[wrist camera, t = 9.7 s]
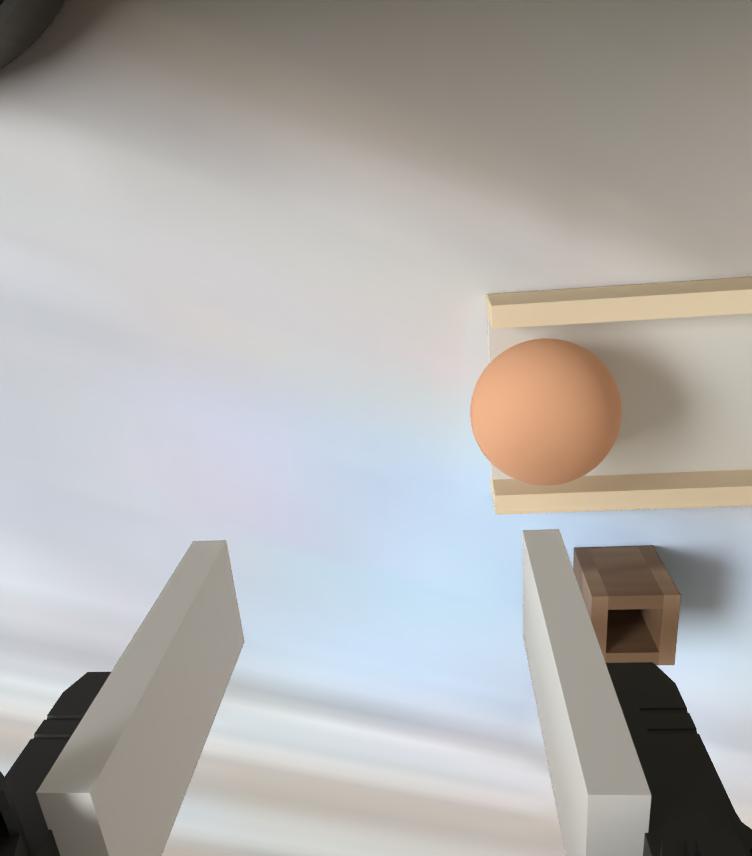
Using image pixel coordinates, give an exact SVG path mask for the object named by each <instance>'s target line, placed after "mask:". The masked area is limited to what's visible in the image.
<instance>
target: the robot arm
mask: <svg viewBox="0 0 752 856" xmlns="http://www.w3.org/2000/svg"><path fill="white" fill-rule="evenodd" d="M64 1H65V0H0V68H1V67H3V66H5V65H6V64H8V63H9V62H10V61H12V60H13V59H15V58H16V57H18V56H19V55H20V54H21V53H22V52H23V51H24V50H26V49H27V48H28V47H29V46H30V45H31V44H32V43H33V42H34V41H35V40H36V39H37V38H38V37H39V36H40V35H41V34H42V32H43V31H44V30H45V29H46V27H47V26H48V25H49V24H50V22H51V21H52V20H53V18H54V17H55V15H56V14H57V12H58V11H59V9H60V8H61V6H62V4H63V2H64ZM523 638H524V643H525V649H526V654H527V659H528V664H529V669H530V674H531V680H532V685H533V690H534V695H535V700H536V705H537V710H538V716H539V721H540V726H541V731H542V736H543V741H544V747H545V752H546V757H547V762H548V767H549V772H550V778H551V783H552V788H553V793H554V798H555V803H556V809H557V814H558V819H559V824H560V829H561V834H562V840H563V845H564V850H565V855H566V856H752V829H750V828H749V827H748V826H746V825H745V824H744V823H742V822H741V820H740V819H739V817H738V815H737V814H736V812H735V810H734V808H733V806H732V804H731V802H730V799H729V797H728V795H727V793H726V791H725V789H724V787H723V784H722V782H721V780H720V778H719V776H718V774H717V772H716V770H715V767H714V765H713V763H712V761H711V759H710V757H709V755H708V752H707V750H706V748H705V746H704V744H703V742H702V740H701V737H700V735H699V734H697V731H696V727H695V725H694V722H693V720H692V718H691V716H690V714H689V713H687V707H686V705H685V703H684V701H683V699H682V697H681V695H680V692H679V690H678V688H677V686H676V684H675V683H674V682H673V681H672V680H671V679H670V678H669V677H668V676H667V675H666V674H665V673H664V672H663V671H662V670H661V669H660V668H658V667H657V666H656V665H655V664H654V663H653V662H627V663H605V660H604V657H603V654H602V652H601V649H600V646H599V643H598V640H597V637H596V634H595V631H594V628H593V626H592V623H591V620H590V617H589V614H588V611H587V608H586V605H585V603H584V600H583V597H582V594H581V591H580V588H579V585H578V582H577V580H576V577H575V574H574V571H573V568H572V565H571V562H570V559H569V557H568V554H567V551H566V548H565V545H564V542H563V539H562V536H561V533H560V531H559V529H551V530H523ZM243 644H244V637H243V631H242V626H241V620H240V614H239V609H238V603H237V598H236V592H235V587H234V581H233V575H232V570H231V564H230V559H229V553H228V548H227V542H226V540H220V541H193V542H192V544H191V545H190V547H189V549H188V550H187V552H186V553H185V555H184V557H183V558H182V560H181V561H180V563H179V565H178V566H177V568H176V569H175V571H174V573H173V574H172V576H171V577H170V579H169V581H168V582H167V584H166V585H165V587H164V589H163V590H162V592H161V593H160V595H159V597H158V598H157V600H156V602H155V603H154V605H153V606H152V608H151V610H150V611H149V613H148V614H147V616H146V618H145V619H144V621H143V622H142V624H141V626H140V627H139V629H138V630H137V632H136V634H135V635H134V637H133V638H132V640H131V642H130V643H129V645H128V646H127V648H126V650H125V651H124V653H123V654H122V656H121V658H120V659H119V661H118V662H117V664H116V666H115V667H114V669H113V670H112V672H87V673H86V674H85V675H84V676H82V677H81V678H80V679H79V680H78V681H76V682H75V683H74V684H73V685H71V686H70V687H69V688H68V689H67V690H65V691H64V692H63V693H62V695H61V696H60V698H59V699H58V701H57V702H56V703H55V705H54V706H53V708H52V709H51V711H50V712H49V714H48V715H47V716H48V717H47V720H44V721H43V722H42V724H41V725H40V727H39V728H38V730H37V731H36V732H35V734H34V739H31V740H30V741H29V743H28V744H27V745H26V747H25V748H24V750H23V751H22V753H21V754H20V756H19V757H18V758H17V760H16V761H15V763H14V764H13V766H12V767H11V769H10V770H9V771H8V773H7V774H6V776H5V777H4V776H3V774H2V773H1V772H0V856H161V855H162V853H163V850H164V848H165V845H166V843H167V840H168V837H169V835H170V832H171V830H172V827H173V825H174V822H175V819H176V817H177V814H178V812H179V809H180V806H181V804H182V801H183V799H184V796H185V794H186V791H187V788H188V786H189V783H190V781H191V778H192V776H193V773H194V770H195V768H196V765H197V763H198V760H199V757H200V755H201V752H202V750H203V747H204V745H205V742H206V739H207V737H208V734H209V732H210V729H211V726H212V724H213V721H214V719H215V716H216V714H217V711H218V708H219V706H220V703H221V701H222V698H223V696H224V693H225V690H226V688H227V685H228V683H229V680H230V677H231V675H232V672H233V670H234V667H235V665H236V662H237V659H238V657H239V654H240V652H241V649H242V647H243Z"/></svg>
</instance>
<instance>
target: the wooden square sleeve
mask: <svg viewBox="0 0 752 856" xmlns="http://www.w3.org/2000/svg"><path fill="white" fill-rule="evenodd" d="M573 571H574V574H575V577H576V580H577V582H578V585H579V588H580V591H581V594H582V597H583V600H584V603H585V605H586V608H587V611H588V614H589V617H590V620H591V623H592V626H593V628H594V631H595V634H596V637H597V640H598V643H599V646H600V649H601V652H602V654H603V657H604V660H605V663H627V662H653V663H654V664H655V665H674V664H675V653H676V642H677V631H678V620H679V609H680V598H681V594H680V592H679V591H678V589H677V587H676V585H675V584H674V582H673V580H672V578H671V577H670V575H669V573H668V572H667V570H666V568H665V566H664V565H663V563H662V561H661V559H660V558H659V556H658V554H657V552H656V551H655V549H654V547H653V546H622V547H588V548H574V568H573Z"/></svg>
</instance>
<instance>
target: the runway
mask: <svg viewBox="0 0 752 856" xmlns="http://www.w3.org/2000/svg"><path fill="white" fill-rule="evenodd" d="M487 326H488V365H489V363H490V362H491V361H492V360H493V359H494V358H495V357H497V356H498V355H499V354H501V353H502V352H503V351H505V350H506V349H508V348H510V347H512V346H514V345H516V344H519V343H521V342H525V341H528V340H534V339H542V338H550V339H559V340H564V341H568V342H572V343H574V344H577V345H579V346H581V347H583V348H585V349H586V350H588V351H590V352H591V353H592V354H594V355H595V356H596V357H597V358H598V359H600V360H601V362H602V363H603V364H604V365H605V366H606V367H607V369H608V370H609V371H610V373H611V374H612V376H613V378H614V380H615V382H616V385H617V387H618V390H619V394H620V398H621V406H622V418H621V425H620V430H619V433H618V436H617V439H616V441H615V443H614V445H613V447H612V448H611V450H610V452H609V453H608V455H607V456H606V457H605V458H604V459H603V461H602V462H601V463H600V464H599V465H598V466H597V467H595V468H594V469H593V470H591V471H590V472H589V473H587V474H586V475H584V476H582V477H580V478H578V479H576V480H573V481H570V482H567V483H563V484H559V485H547V486H544V485H533V484H528V483H525V482H521V481H518V480H516V479H514V478H512V477H510V476H508V475H506V474H504V473H503V472H501V471H500V470H499V469H497V468H496V467H495V466H494V465H493V464H492V463H491V462H490V463H491V491H492V497H493V502H494V508H495V513H496V514H523V513H552V512H581V511H610V510H640V509H669V508H698V507H727V506H752V277H743V278H727V279H712V280H696V281H681V282H666V283H650V284H635V285H620V286H604V287H589V288H574V289H558V290H543V291H528V292H512V293H497V294H487Z"/></svg>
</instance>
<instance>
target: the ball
mask: <svg viewBox="0 0 752 856" xmlns="http://www.w3.org/2000/svg"><path fill="white" fill-rule="evenodd" d="M470 417H471V426H472V430H473V433H474V437H475V439H476V441H477V443H478V445H479V447H480V449H481V451H482V452H483V454H484V455H485V456H486V458H487V459H488V460H489V461H490V462H491V463H492V464H493V465H494V466H495V467H496V468H497V469H499V470H500V471H501V472H503V473H504V474H506V475H508V476H510V477H512V478H514V479H516V480H518V481H521V482H525V483H528V484H533V485H544V486H547V485H559V484H563V483H567V482H570V481H573V480H576V479H578V478H580V477H582V476H584V475H586V474H587V473H589V472H590V471H591V470H593V469H594V468H595V467H597V466H598V465H599V464H600V463H601V462H602V461H603V459H604V458H605V457H606V456H607V455H608V453H609V452H610V450H611V448H612V447H613V445H614V443H615V441H616V439H617V436H618V433H619V430H620V425H621V418H622V406H621V398H620V394H619V390H618V387H617V385H616V382H615V380H614V378H613V376H612V374H611V373H610V371H609V370H608V369H607V367H606V366H605V365H604V364H603V363H602V362H601V360H600V359H598V358H597V357H596V356H595V355H594V354H592V353H591V352H590V351H588V350H586V349H585V348H583V347H581V346H579V345H577V344H574V343H572V342H568V341H564V340H559V339H550V338H542V339H534V340H528V341H525V342H521V343H519V344H516V345H514V346H512V347H510V348H508V349H506V350H505V351H503V352H502V353H501V354H499V355H498V356H497V357H495V358H494V359H493V360H492V361H491V362H490V363H489V365H488V366H487V367H486V368H485V369H484V371H483V373H482V374H481V376H480V377H479V379H478V381H477V383H476V386H475V388H474V392H473V395H472V399H471V407H470Z"/></svg>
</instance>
